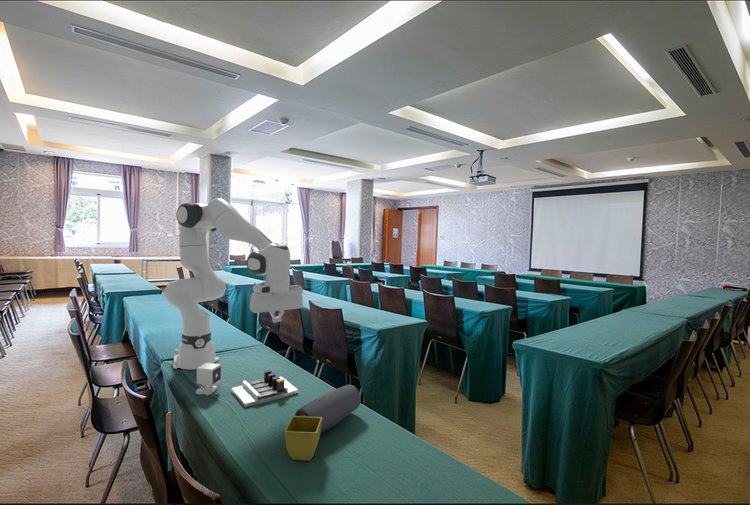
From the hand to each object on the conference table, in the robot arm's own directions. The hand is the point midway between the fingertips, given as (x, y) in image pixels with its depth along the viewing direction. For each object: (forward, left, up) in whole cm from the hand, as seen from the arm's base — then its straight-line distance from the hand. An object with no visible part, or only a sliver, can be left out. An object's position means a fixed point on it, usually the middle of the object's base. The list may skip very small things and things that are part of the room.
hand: (276, 321), depth 146 cm
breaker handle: (+8, -2, -23) cm, 25 cm away
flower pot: (+45, -11, -26) cm, 54 cm away
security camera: (-11, -22, -26) cm, 36 cm away
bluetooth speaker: (+35, +3, -26) cm, 44 cm away
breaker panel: (+2, -5, -26) cm, 27 cm away
